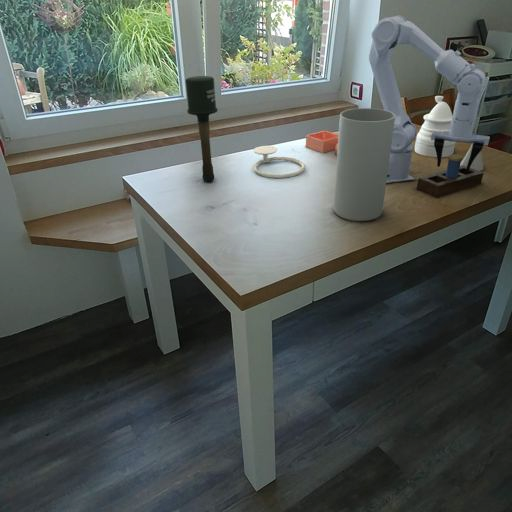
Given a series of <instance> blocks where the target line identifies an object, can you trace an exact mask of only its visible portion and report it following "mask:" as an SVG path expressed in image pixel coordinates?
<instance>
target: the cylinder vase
mask: <svg viewBox="0 0 512 512" xmlns="http://www.w3.org/2000/svg"><path fill="white" fill-rule="evenodd" d="M394 122H395V114H394V113H392V112H390V111H387V110H384V109H383V108H382V109H381V108H372V107H358V108H350V109H345V110H343V111H341V112H340V114H339V125H338V135H339V137H338V152H337V155H336V169H335V183H334V197H333V211H334V213H335V214H336V215H337V216H339V217H340V218H342V219H344V220H348V221H353V222H368V221H373V220H376V219H378V218H379V217H380V216H381V215H382V214H383V209H384V203H385V202H384V201H385V196H386V188H387V183H386V181H387V174H388V166H389V159H390V151H391V144H392V137H393V129H394Z"/></svg>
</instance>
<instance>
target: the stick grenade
mask: <svg viewBox="0 0 512 512" xmlns="http://www.w3.org/2000/svg"><path fill="white" fill-rule="evenodd" d="M215 87H216V86H215V79H214V77H213V76H209V75H195V76H190V77H187V78H186V79H185V89H186V98H187V110H186V111H187V114H188V115H191V116H192V115H193V116H196V118H197V126H198V127H197V128H198V134H199V137H200V148H201V158H202V165H201V167H202V169H201V170H202V175H201V176H202V180H203V181H204V182H205V183H211V182H213V181H215V173H214V166H213V163H212V153H211V152H212V151H211V141H210V140H211V139H210V135H211V129H210V115H212V114H215V113H217V112H218V107H217V103H216V102H217V101H216V90H215V89H216V88H215Z"/></svg>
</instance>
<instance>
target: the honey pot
mask: <svg viewBox="0 0 512 512" xmlns="http://www.w3.org/2000/svg"><path fill="white" fill-rule="evenodd" d="M434 100H435V102H436V103H437V104H435V106H434V107H433V108H432V109H431V111H430V112H429V113H426V114H424V115H423V120H424V122H423V123H422V125H421V127H420V129H419V131H418V132H417V135H416V138H415V144H414V148H413V151H414V152H415V153H416V154H419V156H424V157H430V158H437V154H436V150H435V147H434V141H435V140H431V135H432V132H433V131H434V132H450V127H451V122H452V117H453V112H452V109H451V108H450V106H449V104H448V103H447V102H445V101H443V100H444V96H443V95H436V96H434ZM455 147H456V142H453V141H444V146H443V151H442V158H448V156H449V155H452V154H454V153H455V152H454V151H455Z"/></svg>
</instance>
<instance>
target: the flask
mask: <svg viewBox="0 0 512 512" xmlns="http://www.w3.org/2000/svg"><path fill="white" fill-rule="evenodd" d="M472 146H473V143H471V145H470V147H469V149H468V150H467V152H466V153H465V155H464V156H463V160H462V161H461V164H460V166H462V165H464V166H466V167H467V164H468V161H469V158H470V155H471V151H472ZM470 168H472V169H475V170H478V171H481V172H482V171H484V163H483V153H482V150H481V151H480V152H479V154H478V155H477V156H476V158H475V159H474V161H473V162H472V164H471V166H470Z"/></svg>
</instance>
